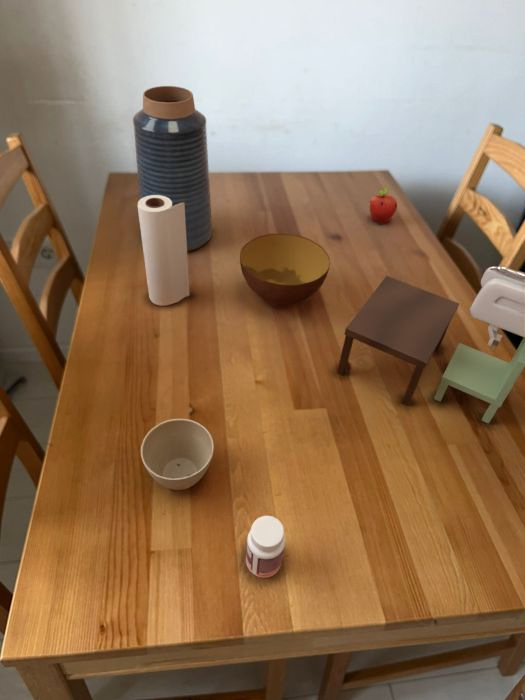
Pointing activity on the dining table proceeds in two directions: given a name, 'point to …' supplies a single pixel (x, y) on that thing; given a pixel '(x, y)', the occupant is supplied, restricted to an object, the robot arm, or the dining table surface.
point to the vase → (175, 156)
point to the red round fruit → (382, 207)
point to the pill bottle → (265, 546)
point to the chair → (482, 376)
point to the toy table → (401, 326)
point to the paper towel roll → (164, 249)
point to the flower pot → (177, 453)
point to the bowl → (284, 268)
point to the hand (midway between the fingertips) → (522, 357)
